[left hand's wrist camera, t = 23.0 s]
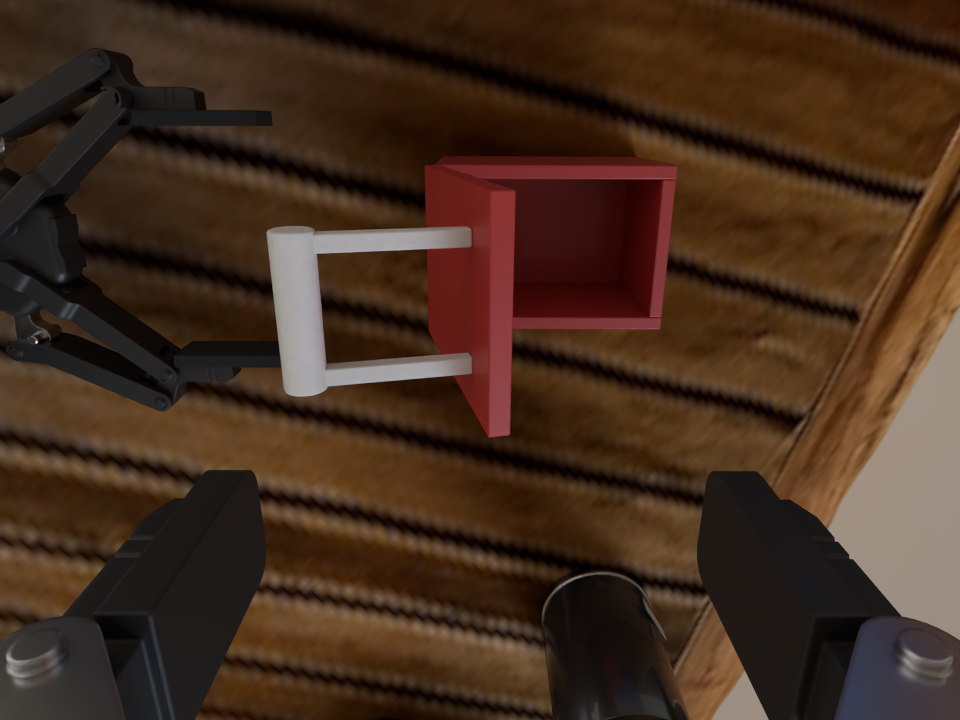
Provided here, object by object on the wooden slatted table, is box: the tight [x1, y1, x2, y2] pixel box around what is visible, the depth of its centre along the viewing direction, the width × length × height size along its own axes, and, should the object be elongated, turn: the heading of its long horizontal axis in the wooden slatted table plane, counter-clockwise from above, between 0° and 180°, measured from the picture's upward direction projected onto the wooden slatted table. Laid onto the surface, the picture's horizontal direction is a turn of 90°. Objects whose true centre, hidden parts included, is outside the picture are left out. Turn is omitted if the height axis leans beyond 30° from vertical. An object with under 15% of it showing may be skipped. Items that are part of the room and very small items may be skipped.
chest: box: [434, 156, 677, 329], centre depth 39 cm, size 13×9×9 cm
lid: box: [267, 165, 516, 437], centre depth 28 cm, size 13×9×8 cm
